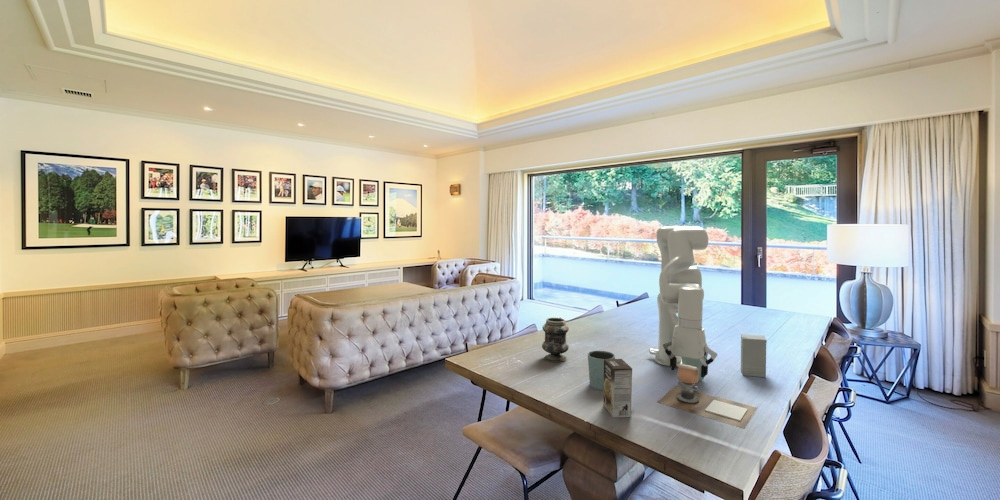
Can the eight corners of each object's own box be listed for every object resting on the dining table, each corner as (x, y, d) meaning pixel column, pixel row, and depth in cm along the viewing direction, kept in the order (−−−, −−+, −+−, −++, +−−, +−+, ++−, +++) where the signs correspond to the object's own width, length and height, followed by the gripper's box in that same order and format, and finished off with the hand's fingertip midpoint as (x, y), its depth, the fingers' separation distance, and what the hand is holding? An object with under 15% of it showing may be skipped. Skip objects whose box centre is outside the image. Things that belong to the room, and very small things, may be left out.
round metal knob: (673, 399, 138) (673, 379, 137) (680, 393, 143) (680, 374, 142) (694, 406, 133) (695, 385, 133) (701, 399, 138) (702, 379, 138)
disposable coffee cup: (706, 387, 150) (708, 348, 149) (675, 381, 156) (676, 343, 155) (709, 377, 159) (710, 340, 158) (679, 372, 165) (680, 336, 164)
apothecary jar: (572, 357, 184) (573, 318, 183) (562, 365, 174) (562, 324, 173) (548, 352, 191) (549, 315, 189) (537, 359, 181) (537, 320, 179)
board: (656, 404, 136) (656, 402, 136) (675, 388, 149) (675, 385, 149) (744, 432, 119) (744, 428, 119) (757, 410, 132) (757, 407, 132)
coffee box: (602, 405, 136) (603, 358, 135) (620, 404, 137) (621, 357, 136) (612, 418, 127) (613, 368, 126) (631, 417, 128) (632, 367, 127)
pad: (704, 411, 130) (704, 409, 130) (713, 400, 137) (713, 399, 137) (740, 421, 123) (740, 420, 123) (747, 410, 130) (747, 408, 130)
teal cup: (599, 393, 146) (600, 360, 145) (581, 383, 155) (581, 352, 154) (620, 387, 151) (621, 356, 150) (601, 378, 159) (602, 348, 159)
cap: (674, 379, 137) (675, 366, 137) (681, 374, 142) (681, 361, 142) (694, 385, 133) (695, 370, 133) (700, 379, 138) (701, 365, 137)
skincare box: (763, 372, 164) (764, 334, 163) (766, 379, 158) (768, 339, 157) (739, 369, 168) (740, 332, 167) (741, 375, 161) (742, 337, 160)
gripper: (659, 321, 139) (658, 369, 140) (714, 329, 127) (712, 382, 128) (667, 317, 145) (666, 364, 146) (721, 325, 133) (719, 376, 134)
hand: (688, 372), depth 137 cm, fingers open, 9 cm apart
